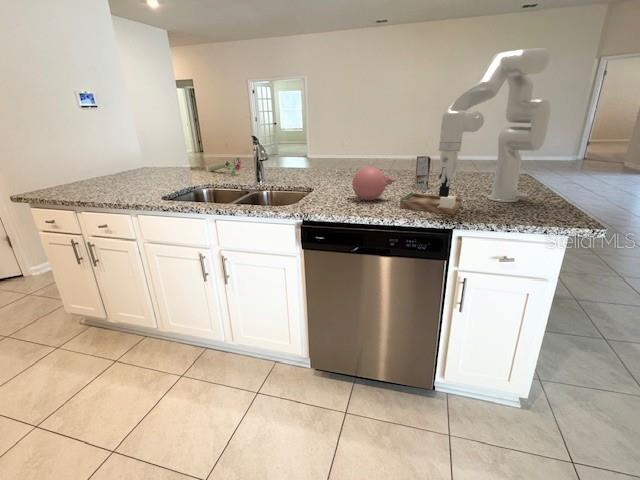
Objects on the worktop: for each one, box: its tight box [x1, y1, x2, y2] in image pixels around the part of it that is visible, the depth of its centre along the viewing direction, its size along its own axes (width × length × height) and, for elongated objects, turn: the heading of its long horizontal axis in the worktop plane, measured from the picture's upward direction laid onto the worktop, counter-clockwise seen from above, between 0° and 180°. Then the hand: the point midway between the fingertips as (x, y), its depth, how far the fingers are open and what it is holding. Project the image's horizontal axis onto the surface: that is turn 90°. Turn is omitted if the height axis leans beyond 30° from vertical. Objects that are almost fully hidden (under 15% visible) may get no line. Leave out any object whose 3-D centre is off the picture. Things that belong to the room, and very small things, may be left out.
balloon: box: [351, 166, 397, 201], centre depth 156 cm, size 15×20×15 cm
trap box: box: [399, 190, 463, 216], centre depth 144 cm, size 22×15×4 cm
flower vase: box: [207, 156, 242, 175], centre depth 237 cm, size 12×12×35 cm
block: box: [439, 194, 457, 209], centre depth 137 cm, size 5×5×4 cm
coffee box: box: [414, 155, 432, 190], centre depth 179 cm, size 9×6×16 cm
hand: (443, 196), depth 130 cm, fingers closed
